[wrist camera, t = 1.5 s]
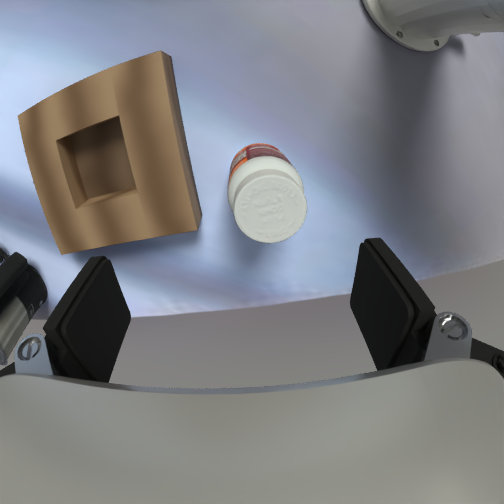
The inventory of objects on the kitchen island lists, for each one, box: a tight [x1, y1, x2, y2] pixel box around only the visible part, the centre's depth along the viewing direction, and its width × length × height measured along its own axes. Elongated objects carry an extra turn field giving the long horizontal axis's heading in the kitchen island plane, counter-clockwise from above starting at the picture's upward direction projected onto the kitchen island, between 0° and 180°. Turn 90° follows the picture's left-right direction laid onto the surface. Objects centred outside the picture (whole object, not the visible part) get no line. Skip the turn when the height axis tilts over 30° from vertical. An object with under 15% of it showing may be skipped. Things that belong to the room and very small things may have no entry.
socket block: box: [18, 51, 202, 255], centre depth 25 cm, size 18×18×4 cm
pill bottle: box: [228, 143, 307, 243], centre depth 24 cm, size 6×6×11 cm
